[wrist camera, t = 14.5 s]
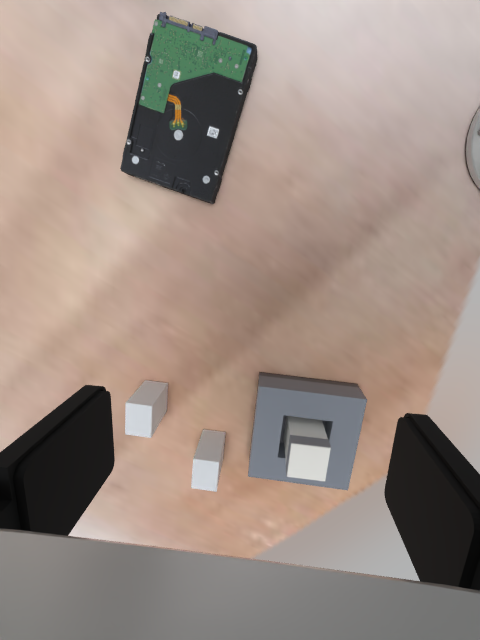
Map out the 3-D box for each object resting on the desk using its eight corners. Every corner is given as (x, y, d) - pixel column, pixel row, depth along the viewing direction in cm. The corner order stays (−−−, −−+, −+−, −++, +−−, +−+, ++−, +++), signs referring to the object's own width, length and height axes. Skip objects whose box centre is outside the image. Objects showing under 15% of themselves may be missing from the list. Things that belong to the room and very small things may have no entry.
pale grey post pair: (229, 390, 41) (223, 415, 35) (223, 458, 43) (216, 491, 38) (145, 380, 42) (125, 402, 36) (143, 447, 44) (125, 478, 38)
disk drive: (216, 205, 36) (258, 57, 33) (212, 203, 34) (258, 41, 30) (129, 176, 36) (161, 24, 32) (118, 171, 34) (152, 5, 30)
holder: (357, 383, 39) (367, 399, 36) (340, 467, 42) (347, 490, 38) (259, 372, 40) (258, 386, 36) (249, 455, 43) (248, 476, 39)
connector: (320, 412, 40) (331, 448, 33) (315, 441, 41) (325, 481, 34) (286, 408, 40) (290, 443, 33) (283, 437, 41) (286, 477, 34)
